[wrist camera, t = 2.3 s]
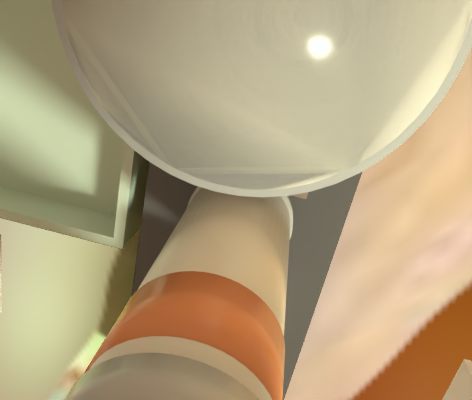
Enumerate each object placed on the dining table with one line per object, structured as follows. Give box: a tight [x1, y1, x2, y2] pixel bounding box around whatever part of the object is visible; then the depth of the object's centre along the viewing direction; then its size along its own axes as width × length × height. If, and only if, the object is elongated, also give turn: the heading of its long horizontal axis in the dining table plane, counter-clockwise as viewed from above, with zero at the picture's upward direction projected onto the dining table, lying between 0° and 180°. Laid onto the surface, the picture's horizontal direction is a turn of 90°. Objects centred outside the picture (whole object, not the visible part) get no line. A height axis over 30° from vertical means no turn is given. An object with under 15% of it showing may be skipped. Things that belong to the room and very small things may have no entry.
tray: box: [0, 0, 149, 249], centre depth 21 cm, size 10×13×3 cm
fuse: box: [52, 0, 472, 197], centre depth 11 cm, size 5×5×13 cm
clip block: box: [131, 162, 362, 400], centre depth 20 cm, size 9×26×6 cm, turn 168°
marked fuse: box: [65, 186, 293, 400], centre depth 14 cm, size 5×5×13 cm
